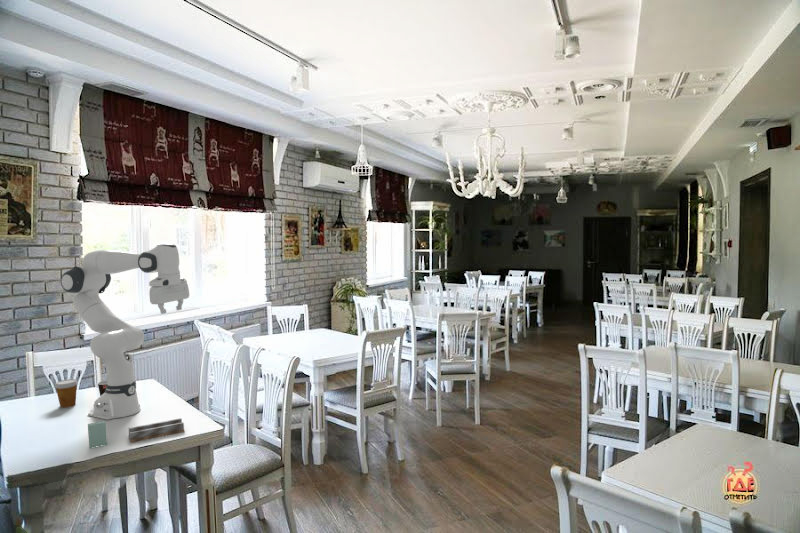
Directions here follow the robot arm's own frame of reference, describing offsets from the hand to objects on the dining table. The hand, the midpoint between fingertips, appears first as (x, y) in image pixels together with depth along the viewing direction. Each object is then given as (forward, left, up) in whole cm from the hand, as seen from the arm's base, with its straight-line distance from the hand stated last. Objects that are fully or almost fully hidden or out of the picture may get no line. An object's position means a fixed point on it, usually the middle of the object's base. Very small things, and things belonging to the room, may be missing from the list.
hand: (171, 311), depth 232 cm
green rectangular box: (-10, -33, -48) cm, 59 cm away
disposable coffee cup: (-67, +2, -48) cm, 82 cm away
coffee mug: (-51, +10, -48) cm, 71 cm away
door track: (+4, -17, -48) cm, 51 cm away
